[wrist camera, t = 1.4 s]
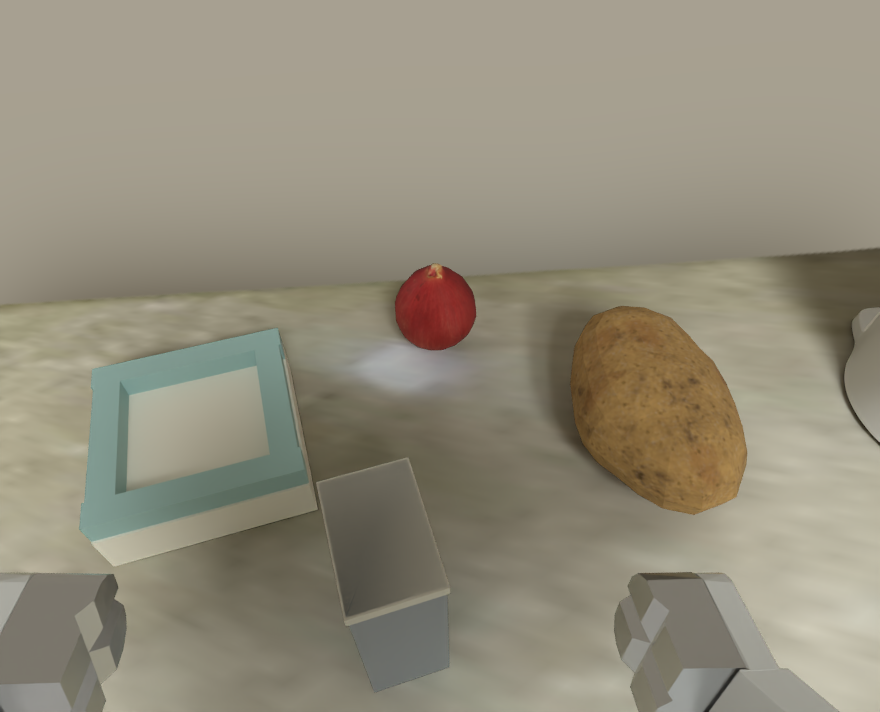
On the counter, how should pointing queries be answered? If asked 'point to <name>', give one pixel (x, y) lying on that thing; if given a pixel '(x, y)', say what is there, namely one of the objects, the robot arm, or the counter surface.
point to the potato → (656, 410)
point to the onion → (435, 308)
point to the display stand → (193, 448)
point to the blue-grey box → (387, 572)
